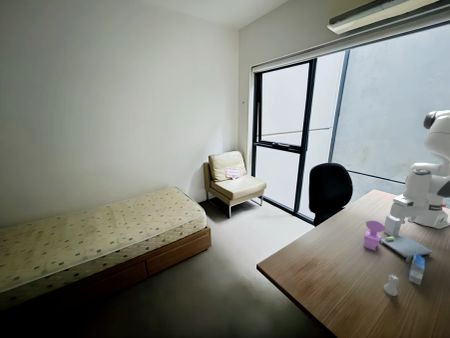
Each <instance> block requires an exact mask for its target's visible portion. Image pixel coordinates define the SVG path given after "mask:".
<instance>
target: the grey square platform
mask: <svg viewBox="0 0 450 338" xmlns="http://www.w3.org/2000/svg"><path fill="white" fill-rule="evenodd" d="M381 239H382V237H381V236H380V240H381ZM381 242H382V241H379V243H381ZM391 251H392V252H393V253H394V254H396V255H398V256H399V257H400V258H402V259H403V260H404V261H405V263H407V264H409V263H410V262H411V261H413V258H414V257H411V256H407V258H406V257H404V256H403V255H401V254H400V253H398V252H397V251H395V250H394V249H392V250H391ZM419 256H421V257H422V258H424V259H426V258H427V257H428V258H432V257H433V256H432V255H431V253H430V254H425V255H419Z"/></svg>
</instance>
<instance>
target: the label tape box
mask: <svg viewBox="0 0 450 338" xmlns="http://www.w3.org/2000/svg"><path fill="white" fill-rule="evenodd" d="M416 252H417V250H416V251H415V254H414V258H413V260H411V264H410V265H411V266H410V269H409V274H408V275H409V276H408V281H410V282H411V283H414V284H416V285H418V286H421V283H422V280H423V277H424V272H425V269H426V268H425V266H426V258H422V257H421V256H419V255H418V254H416Z"/></svg>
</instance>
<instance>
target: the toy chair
mask: <svg viewBox="0 0 450 338" xmlns="http://www.w3.org/2000/svg"><path fill="white" fill-rule="evenodd" d="M365 226H366V227H367V229H368V230H369V231H368V230H366V231H365V234H364V238H363V240H364V245H363V247H365V248H366V249H369V250H373V251H375V252H376V251H377V250H376V247H377V246H378V245H379V244H380V242H379V241H380V237H381V235H380V234H378V233H381V232H382V233H383V232H384V231H383V230H384V229H385V227H384V224H382V223H381V222H379V221H378V220H368V221H366V222H365Z"/></svg>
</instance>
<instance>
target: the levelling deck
mask: <svg viewBox="0 0 450 338" xmlns="http://www.w3.org/2000/svg"><path fill="white" fill-rule="evenodd" d="M380 241H381V242H382V243H383V244H385V245H386V246H387V247H389V248H391V249H392V250H393V249H394V250H395V251H397V252H398V253H400V254H401V255H403V256H404V257H406V258H407V256H411V257H414V254H415V251H416V250H417V252H416V254H418V255H425V254H430V255H431V254H433V253H434V251H433V250H431V249H430V248H428V247H426V246H424V245H422V244H421V243H419V242H418V241H415V240H413V239H412V238H410V237H408V236H407V235H405V234H404V235H403V234H402V235H398V236H396V237H391V236H387V237H385V238H381V240H380Z"/></svg>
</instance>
